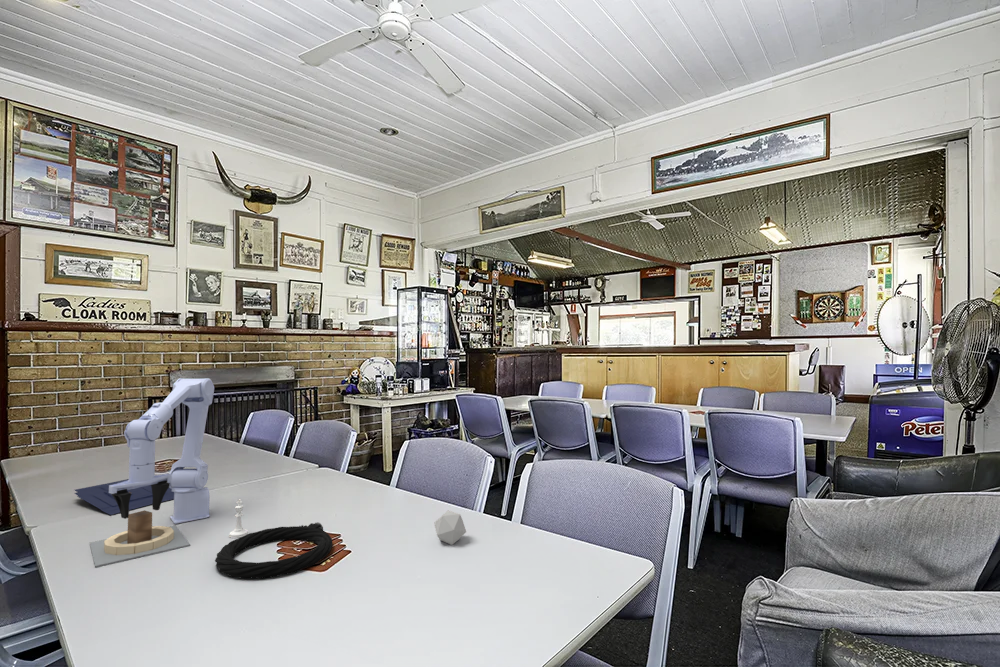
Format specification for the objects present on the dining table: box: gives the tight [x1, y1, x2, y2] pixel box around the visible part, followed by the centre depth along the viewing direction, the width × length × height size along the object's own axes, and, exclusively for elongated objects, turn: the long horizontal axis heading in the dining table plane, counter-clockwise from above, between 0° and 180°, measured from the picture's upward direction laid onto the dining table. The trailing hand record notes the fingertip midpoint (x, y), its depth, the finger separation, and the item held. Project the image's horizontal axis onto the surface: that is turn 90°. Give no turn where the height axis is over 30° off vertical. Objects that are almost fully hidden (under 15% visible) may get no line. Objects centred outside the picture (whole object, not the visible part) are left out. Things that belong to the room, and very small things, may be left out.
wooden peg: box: [127, 510, 153, 544], centre depth 135 cm, size 4×4×8 cm
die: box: [434, 510, 467, 546], centre depth 138 cm, size 8×9×10 cm
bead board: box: [89, 524, 191, 568], centre depth 134 cm, size 20×20×2 cm
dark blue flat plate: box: [74, 478, 174, 516], centre depth 175 cm, size 24×30×4 cm
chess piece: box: [228, 498, 249, 539], centre depth 142 cm, size 5×5×10 cm
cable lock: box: [214, 522, 333, 580], centre depth 128 cm, size 28×4×30 cm
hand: (140, 513), depth 135 cm, fingers open, 7 cm apart
